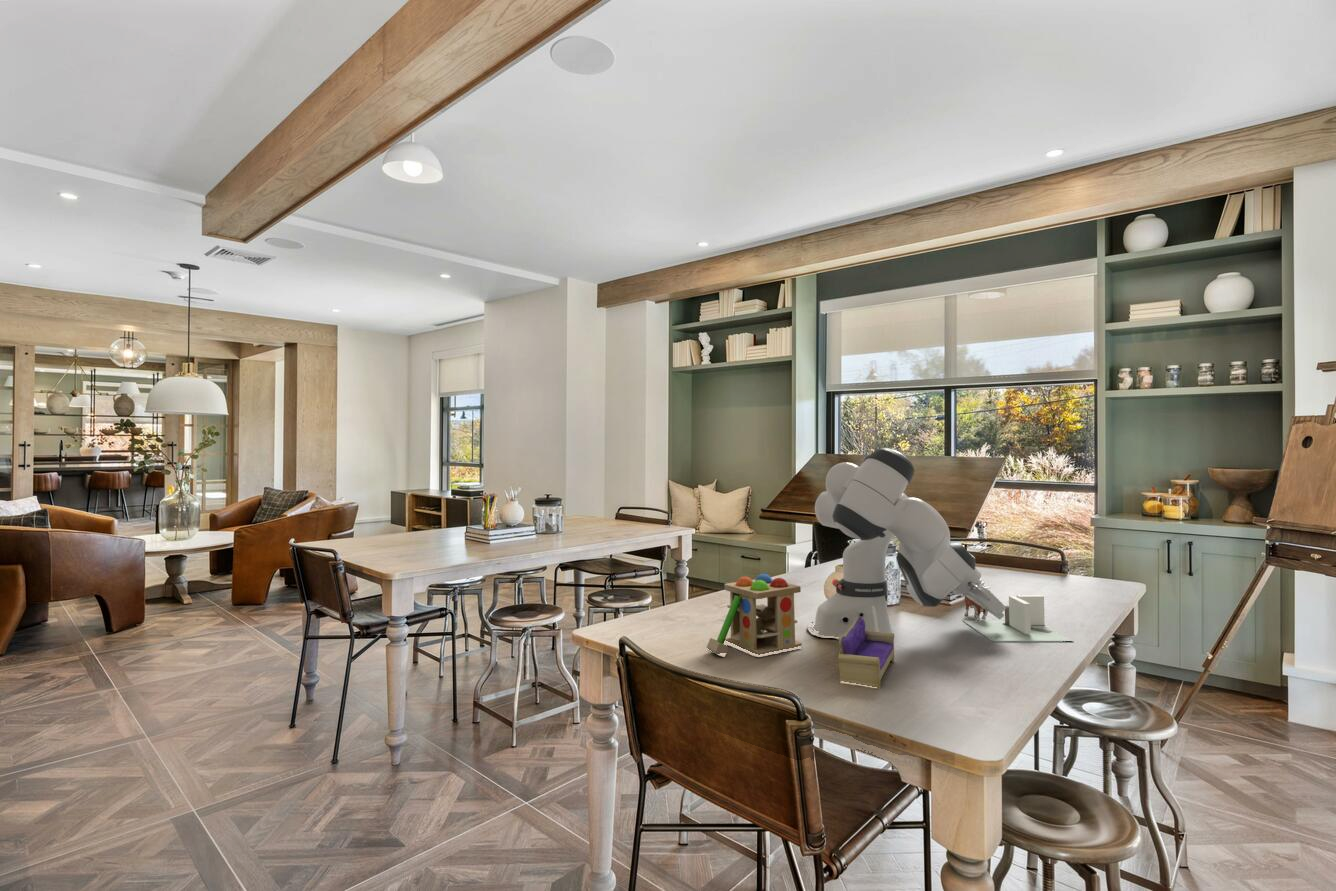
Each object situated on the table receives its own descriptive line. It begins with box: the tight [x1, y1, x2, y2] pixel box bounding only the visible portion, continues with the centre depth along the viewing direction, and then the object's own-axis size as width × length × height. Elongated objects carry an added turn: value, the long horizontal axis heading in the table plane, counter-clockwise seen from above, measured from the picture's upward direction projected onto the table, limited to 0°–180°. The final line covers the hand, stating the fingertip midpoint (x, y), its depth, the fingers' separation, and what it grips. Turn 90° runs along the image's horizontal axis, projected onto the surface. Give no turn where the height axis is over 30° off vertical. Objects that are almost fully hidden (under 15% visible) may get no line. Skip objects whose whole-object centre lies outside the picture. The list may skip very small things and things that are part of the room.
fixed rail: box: [1004, 594, 1046, 626], centre depth 183 cm, size 10×2×8 cm, turn 86°
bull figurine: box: [964, 596, 989, 621], centre depth 193 cm, size 4×13×8 cm, turn 174°
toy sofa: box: [837, 617, 895, 689], centre depth 148 cm, size 21×9×10 cm, turn 152°
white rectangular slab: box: [1008, 595, 1031, 634], centre depth 177 cm, size 9×2×8 cm, turn 176°
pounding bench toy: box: [706, 573, 802, 655], centre depth 167 cm, size 23×14×18 cm, turn 121°
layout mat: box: [963, 620, 1074, 643], centre depth 178 cm, size 20×20×1 cm
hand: (999, 616), depth 177 cm, fingers closed
